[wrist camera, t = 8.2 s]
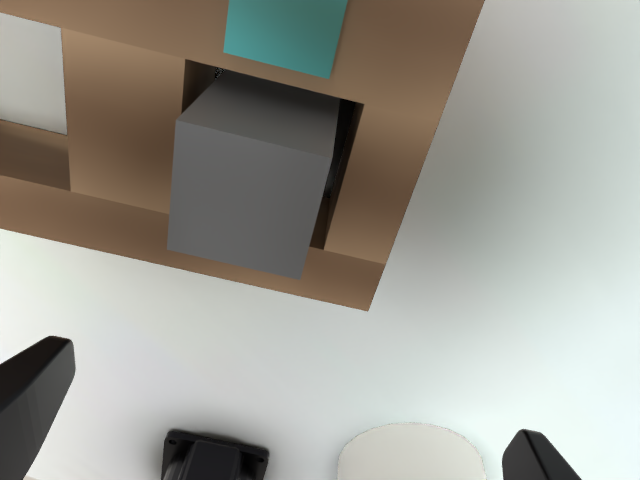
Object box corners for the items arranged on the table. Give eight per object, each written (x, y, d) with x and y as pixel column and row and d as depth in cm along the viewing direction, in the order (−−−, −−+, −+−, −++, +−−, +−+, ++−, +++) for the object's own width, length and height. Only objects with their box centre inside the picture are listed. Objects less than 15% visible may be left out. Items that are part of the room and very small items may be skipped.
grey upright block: (317, 179, 20) (300, 280, 14) (224, 156, 20) (166, 249, 14) (341, 84, 18) (332, 158, 12) (236, 58, 18) (175, 119, 12)
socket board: (367, 253, 22) (368, 321, 18) (-35, 160, 21) (-125, 211, 17) (469, -45, 16) (504, -37, 12) (-103, -201, 15) (-272, -250, 11)
